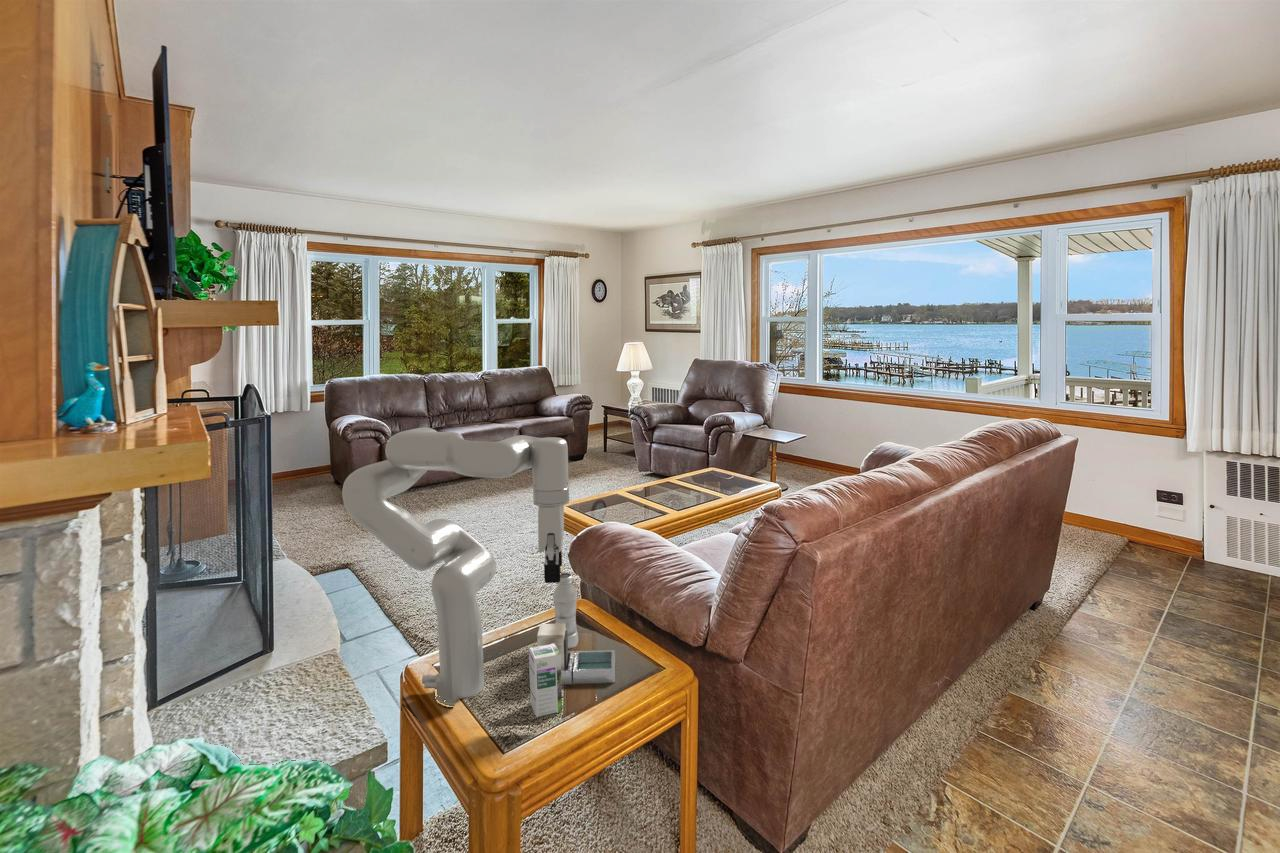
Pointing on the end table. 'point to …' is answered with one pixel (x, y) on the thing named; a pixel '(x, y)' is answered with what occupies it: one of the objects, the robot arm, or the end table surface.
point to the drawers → (589, 667)
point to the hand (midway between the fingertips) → (553, 573)
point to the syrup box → (545, 680)
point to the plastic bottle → (566, 607)
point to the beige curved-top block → (555, 639)
